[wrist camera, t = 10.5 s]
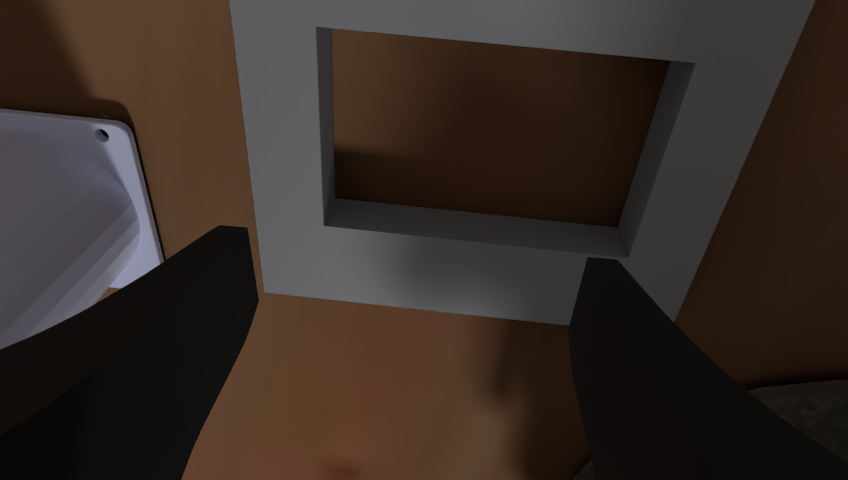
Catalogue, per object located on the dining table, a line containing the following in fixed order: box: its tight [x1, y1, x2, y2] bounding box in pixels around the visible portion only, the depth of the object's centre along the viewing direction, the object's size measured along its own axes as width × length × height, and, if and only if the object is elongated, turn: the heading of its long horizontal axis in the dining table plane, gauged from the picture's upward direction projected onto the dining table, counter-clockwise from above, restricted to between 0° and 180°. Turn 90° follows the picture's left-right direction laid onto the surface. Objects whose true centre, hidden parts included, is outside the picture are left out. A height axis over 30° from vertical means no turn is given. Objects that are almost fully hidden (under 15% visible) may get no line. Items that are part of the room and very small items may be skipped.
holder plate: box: [229, 0, 816, 326], centre depth 19 cm, size 16×14×2 cm
